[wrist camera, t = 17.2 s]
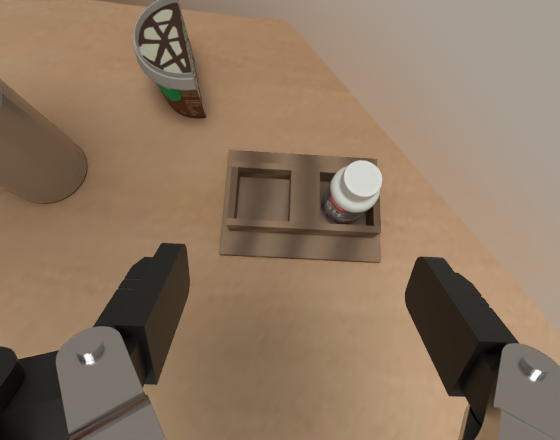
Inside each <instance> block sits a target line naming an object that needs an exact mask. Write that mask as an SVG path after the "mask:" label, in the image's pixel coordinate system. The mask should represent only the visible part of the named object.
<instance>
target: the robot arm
mask: <svg viewBox="0 0 560 440" xmlns="http://www.w3.org/2000/svg"><path fill="white" fill-rule="evenodd" d="M86 171H87V161H86V157H85V155H84V152H83V151H82V150H81V148H80V147H79V146H77V145H76V144H75V143H74V142H73V141H72V140H70V139H69V138H68V137H67V136H66V135H65V134H64V133H62V132H61V131H60V130H59V129H58V128H57V127H56V126H54V125H53V124H52V123H51V122H50V121H49V120H48V119H46V118H45V117H44V116H43V115H42V114H41V113H39V112H38V111H37V110H36V109H35V108H34V107H32V106H31V105H30V104H29V103H28V102H27V101H25V100H24V99H23V98H22V97H21V96H20V95H18V94H17V93H16V92H15V91H14V90H13V89H11V88H10V87H9V86H8V85H7V84H6V83H4V82H3V81H2V80H1V79H0V187H1V188H3V189H5V190H7V191H9V192H12V193H14V194H16V195H18V196H21V197H23V198H25V199H27V200H29V201H32V202H36V203H53V202H56V201H60V200H62V199H64V198H66V197H68V196H69V195H71V194H72V193H73V192H75V191H76V189H77V188H78V187H79V186H80V185H81V183H82V181H83V180H84V177H85V175H86ZM189 287H190V277H189V267H188V257H187V248H186V245H185V244H174V243H162V244H161V245H160V246H159V248H158V250H157V251H156V253H155V255H154V257H144V258H142V259H141V260H140V261H138V262H137V263H136V264H134V265H133V266H132V267H131V269H130V270H129V272H128V273H127V275H126V276H125V279H124V280H123V281H122V283H121V284H120V286H119V287H118V290H116V292H115V294H114V295H113V297H112V298H111V300H110V301H109V303H108V304H107V306H106V308H105V309H104V311H103V312H102V314H101V315H100V317H99V318H98V320H97V321H96V323H95V325H94V326H93V328H89V329H86V330H84V331H81V332H79V333H77V334H76V335H74V336H73V337H71V338H70V339H69V340H68V341H66V342H65V343H64V344H63V346H62V347H61V348H60V350H58V351H54V352H50V353H46V354H41V355H36V356H32V357H27V358H23V359H18V358H17V356H16V355H15V353H14V351H13V350H11V349H9V348H7V347H0V440H166V438H165V436H164V433H163V431H162V428H161V426H160V423H159V421H158V419H157V416H156V414H155V411H154V409H153V406H152V404H151V402H150V400H149V398H148V396H147V395H145V393H144V391H143V389H142V388H143V386H144V384H154V385H157V383H158V380H159V377H160V374H161V371H162V369H163V366H164V363H165V360H166V357H167V354H168V351H169V349H170V346H171V343H172V340H173V337H174V334H175V332H176V329H177V326H178V323H179V320H180V317H181V315H182V312H183V309H184V306H185V303H186V300H187V297H188V293H189ZM405 303H406V307H407V309H408V311H409V313H410V315H411V317H412V320H413V322H414V324H415V326H416V328H417V330H418V332H419V334H420V336H421V339H422V341H423V343H424V345H425V347H426V349H427V351H428V353H429V355H430V357H431V360H432V362H433V364H434V366H435V368H436V370H437V372H438V374H439V376H440V378H441V381H442V383H443V385H444V387H445V389H446V391H447V393H448V395H449V396H460V397H466V399H467V401H468V403H469V404H468V406H467V407H466V409H465V412H464V417H463V421H462V425H461V429H460V434H459V438H458V440H560V366H559V365H558V364H557V363H556V362H555V361H553V360H552V359H551V358H550V357H548V356H547V355H546V354H544V353H542V352H541V351H539V350H537V349H535V348H533V347H530V346H527V345H524V344H519V342H518V341H517V340H516V339H515V337H514V336H513V335H512V333H511V332H510V331H509V330H508V328H507V327H506V326H505V325H504V323H503V322H502V321H501V319H500V318H499V317H498V316H497V314H496V313H495V312H494V311H493V309H492V308H489V304H488V303H487V302H486V300H485V299H484V298H482V297H481V294H480V293H479V292H478V290H477V289H476V288H475V286H474V285H473V284H472V283H471V282H470V281H468V280H467V279H466V278H464V277H463V276H462V275H460V274H459V273H455V272H454V271H453V270H452V268H451V267H450V266H449V264H448V263H447V262H446V260H445V259H444V258H439V257H418V258H417V260H416V262H415V265H414V267H413V270H412V273H411V276H410V279H409V282H408V285H407V288H406V291H405Z"/></svg>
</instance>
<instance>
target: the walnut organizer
mask: <svg viewBox="0 0 560 440" xmlns="http://www.w3.org/2000/svg"><path fill="white" fill-rule="evenodd" d="M359 160H364V161H368V162H371V163H372V164H374V165H375V166H376V167H377V159H368V158H351V157H335V156H319V155H302V154H286V153H269V152H253V151H237V150H229V158H228V169H227V179H226V190H225V201H224V211H223V222H222V233H221V243H220V255H230V256H250V257H270V258H290V259H310V260H330V261H351V262H371V263H379V262H381V249H380V233H381V220H380V196H379V197H378V199H377V201H376V203H375V204H374V205H373V206H372V207H371V208H370V209H369V210H368V211H367V212H366V213H364V214H363V215H362V216H361V217H360V218H359V219H358V220H357V221H355V222H354V223H352V224H350V225H346V224H332V223H331V222H329V221H328V220H327V219H326V218H325V217H324V215H323V213H322V210H321V200H322V197H323V195H324V193H325V191H326V189H327V187H328V186H329V184H330V182H331V180H332V178H333V177H334V175H335V174H336V173H337V172H338V171H339V170H340V169H342V168H344V167H346V166H348V165H349V164H351V163H353V162H355V161H359Z"/></svg>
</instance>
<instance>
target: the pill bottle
mask: <svg viewBox="0 0 560 440" xmlns="http://www.w3.org/2000/svg"><path fill="white" fill-rule="evenodd" d="M381 185H382V175H381V172H380V170H379V169H378V168H377V167H376V166H375V165H374V164H372V163H371V162H368V161H364V160H359V161H355V162H353V163H351V164H349V165H348V166H346V167H344V168H342V169H340V170H339V171H338V172H337V173H336V174H335V175H334V177H333V178H332V180H331V182H330V184H329V186H328V187H327V189H326V191H325V193H324V195H323V197H322V200H321V210H322V213H323V215H324V217H325V218H326V219H327V220H328V221H329V222H331V223H332V224H346V225H350V224H352V223H354V222H355V221H357V220H358V219H359V218H360V217H361V216H362V215H363V214H364V213H366V212H367V211H368V210H369V209H370V208H371V207H372V206H373V205H374V204H375V203H376V201H377V199H378V197H379V193H380V188H381Z"/></svg>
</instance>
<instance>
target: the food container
mask: <svg viewBox="0 0 560 440" xmlns="http://www.w3.org/2000/svg"><path fill="white" fill-rule="evenodd" d="M134 48H135V52H136V57H137V61H138V63H139V65H140V67H141V68H142V70H143V71H144V73H145V74H146V75H147V76H148V77H149V78H151V79H152V80H154V81H155V82H156V83H157V85H158V86H159V88H160V89H161V91H162V93H163V94H164V96H165V98H166V99H167V101H168V103H169V104H170V105H171V107H172V108H173V109H174V110H175V111H176V112H178V113H179V114H182V115H184V116H187V117H190V118H206V113H205V108H204V103H203V98H202V93H201V88H200V83H199V78H198V73H197V68H196V63H195V60H194V56H193V52H192V49H191V45H190V42H189V38H188V34H187V31H186V27H185V23H184V20H183V16H182V12H181V9H180V5H179V1H178V0H157V1H156V2H154V3H153V4H151V5H150V6H148V7H147V8H146V9H145V10H144V11H143V12H142V14H141V15H140V17H139V18H138V20H137V22H136V25H135V29H134Z"/></svg>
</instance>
